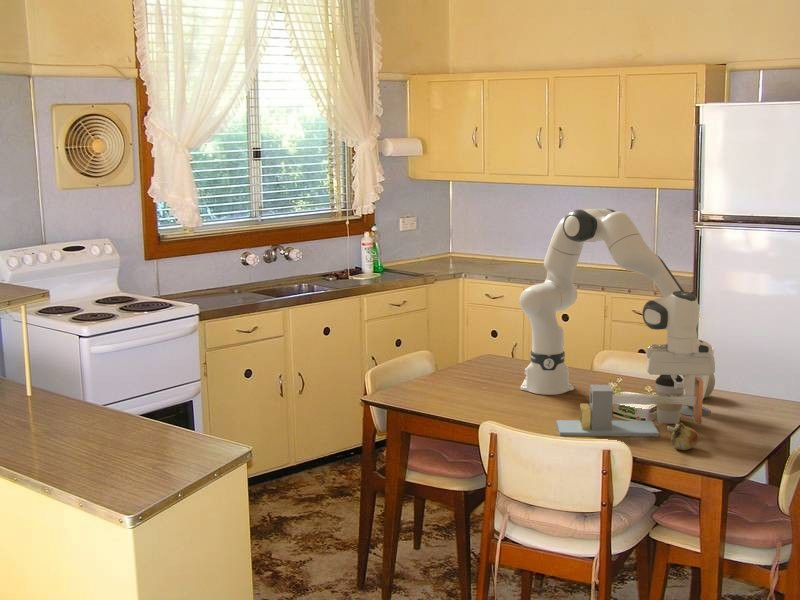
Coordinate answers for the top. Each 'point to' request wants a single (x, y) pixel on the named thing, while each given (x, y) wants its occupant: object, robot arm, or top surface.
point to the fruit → (710, 386)
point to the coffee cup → (668, 411)
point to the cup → (690, 391)
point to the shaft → (667, 399)
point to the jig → (605, 419)
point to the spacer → (585, 416)
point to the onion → (683, 437)
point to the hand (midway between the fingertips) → (679, 388)
